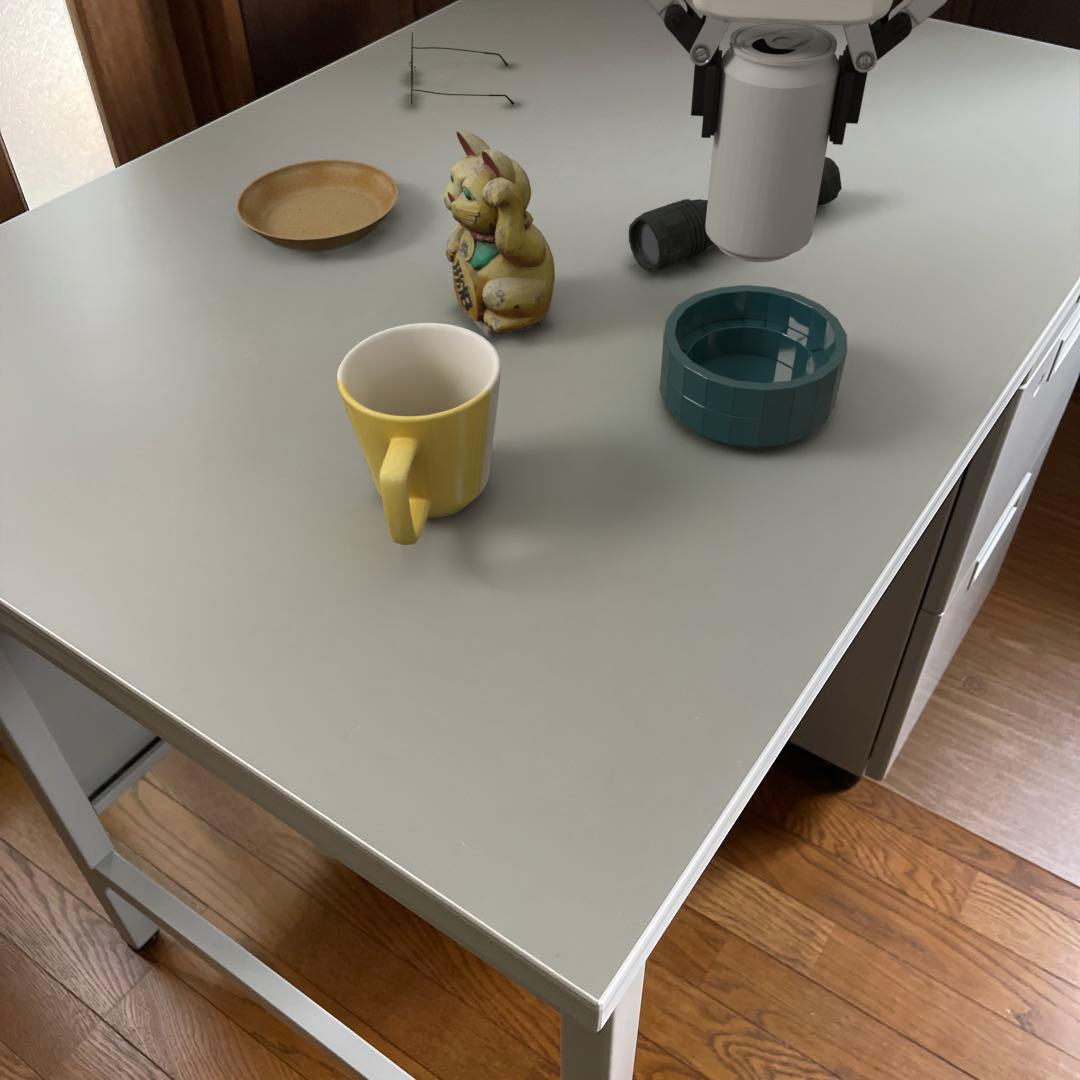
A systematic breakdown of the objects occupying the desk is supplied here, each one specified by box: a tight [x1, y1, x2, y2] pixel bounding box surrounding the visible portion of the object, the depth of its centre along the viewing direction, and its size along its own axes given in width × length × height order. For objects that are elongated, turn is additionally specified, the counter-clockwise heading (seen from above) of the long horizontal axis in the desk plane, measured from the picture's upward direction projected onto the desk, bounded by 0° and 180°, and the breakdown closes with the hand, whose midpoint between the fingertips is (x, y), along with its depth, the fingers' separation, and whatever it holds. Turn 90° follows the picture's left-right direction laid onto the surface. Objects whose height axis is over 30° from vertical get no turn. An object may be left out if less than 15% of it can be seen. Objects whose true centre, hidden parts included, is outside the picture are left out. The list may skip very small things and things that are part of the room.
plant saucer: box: [235, 158, 399, 252], centre depth 102 cm, size 15×15×3 cm
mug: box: [336, 322, 502, 546], centre depth 71 cm, size 14×10×10 cm
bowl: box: [659, 284, 848, 449], centre depth 81 cm, size 13×13×6 cm
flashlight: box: [628, 156, 842, 272], centre depth 98 cm, size 5×21×5 cm, turn 122°
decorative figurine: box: [443, 130, 556, 338], centre depth 86 cm, size 10×8×15 cm
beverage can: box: [705, 22, 840, 263], centre depth 63 cm, size 6×6×12 cm
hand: (771, 128), depth 62 cm, fingers closed on beverage can, 6 cm apart
